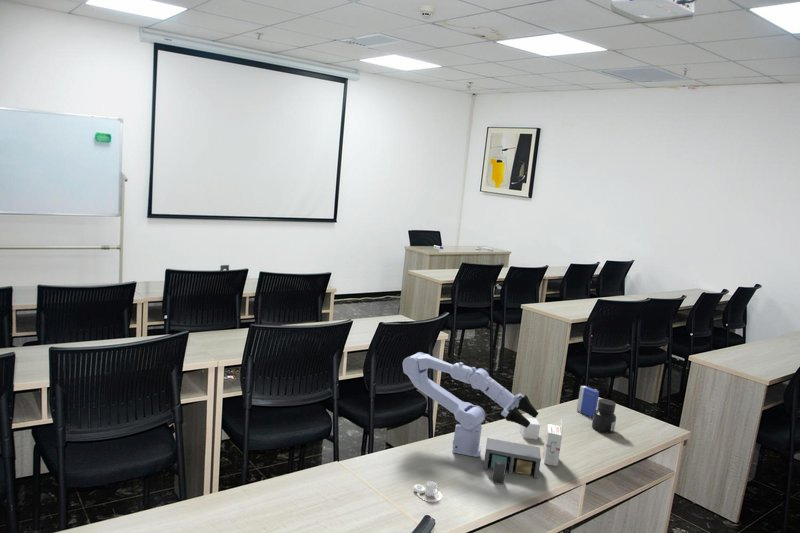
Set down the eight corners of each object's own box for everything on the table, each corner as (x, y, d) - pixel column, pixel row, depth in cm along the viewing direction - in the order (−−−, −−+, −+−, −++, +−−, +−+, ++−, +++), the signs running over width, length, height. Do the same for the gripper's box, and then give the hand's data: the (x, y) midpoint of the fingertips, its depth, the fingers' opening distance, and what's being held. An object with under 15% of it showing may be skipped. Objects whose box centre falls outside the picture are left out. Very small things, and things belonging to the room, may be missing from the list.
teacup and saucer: (409, 491, 178) (410, 479, 178) (429, 485, 183) (430, 473, 182) (427, 505, 171) (428, 492, 171) (447, 499, 176) (449, 486, 175)
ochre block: (515, 472, 197) (517, 459, 197) (515, 465, 202) (517, 453, 202) (530, 474, 197) (532, 462, 196) (529, 468, 202) (531, 455, 201)
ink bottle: (617, 435, 238) (622, 407, 237) (595, 433, 238) (600, 405, 237) (609, 425, 248) (613, 398, 246) (588, 423, 248) (593, 396, 246)
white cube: (534, 432, 232) (536, 418, 231) (538, 439, 226) (540, 424, 225) (519, 431, 232) (521, 417, 231) (522, 438, 226) (524, 423, 225)
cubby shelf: (483, 468, 197) (486, 448, 196) (484, 457, 206) (487, 437, 205) (537, 479, 194) (540, 458, 193) (536, 466, 203) (539, 447, 202)
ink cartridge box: (542, 453, 214) (548, 415, 212) (556, 456, 213) (562, 417, 211) (543, 464, 206) (549, 424, 203) (557, 466, 205) (564, 427, 203)
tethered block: (489, 482, 189) (492, 464, 188) (491, 460, 204) (493, 444, 203) (505, 485, 188) (507, 467, 187) (505, 463, 203) (508, 447, 202)
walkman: (595, 416, 257) (599, 390, 255) (591, 417, 255) (596, 391, 253) (579, 410, 263) (583, 384, 261) (576, 411, 261) (580, 385, 259)
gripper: (496, 395, 194) (530, 421, 189) (513, 378, 206) (546, 403, 201) (487, 409, 197) (520, 436, 193) (504, 393, 209) (536, 417, 204)
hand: (532, 420), depth 197 cm, fingers open, 7 cm apart
